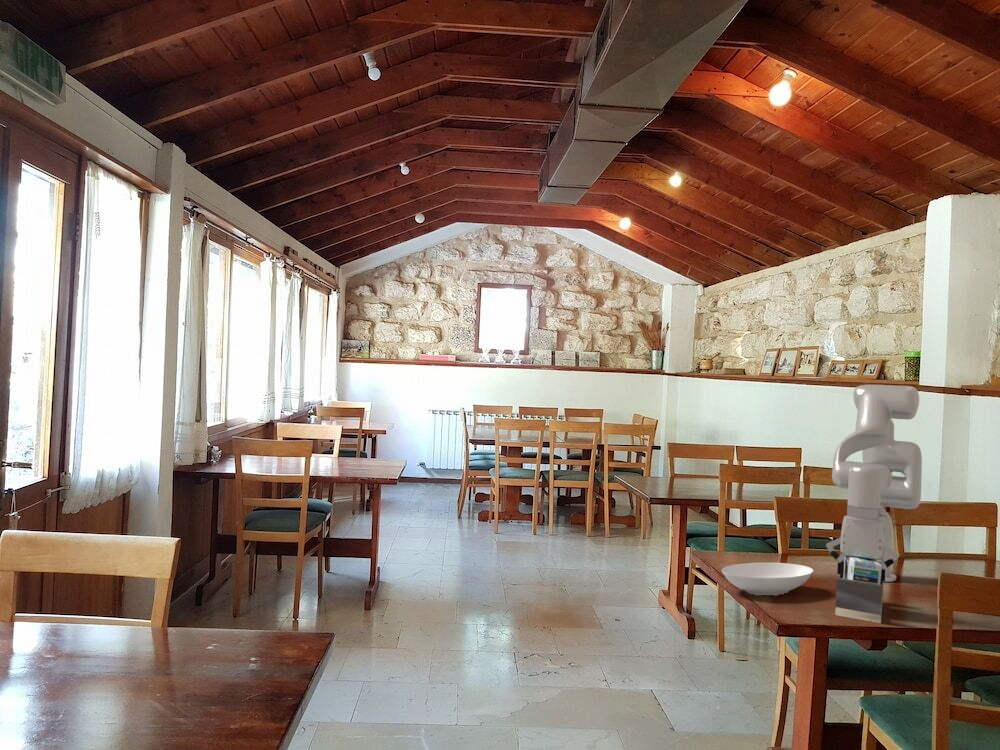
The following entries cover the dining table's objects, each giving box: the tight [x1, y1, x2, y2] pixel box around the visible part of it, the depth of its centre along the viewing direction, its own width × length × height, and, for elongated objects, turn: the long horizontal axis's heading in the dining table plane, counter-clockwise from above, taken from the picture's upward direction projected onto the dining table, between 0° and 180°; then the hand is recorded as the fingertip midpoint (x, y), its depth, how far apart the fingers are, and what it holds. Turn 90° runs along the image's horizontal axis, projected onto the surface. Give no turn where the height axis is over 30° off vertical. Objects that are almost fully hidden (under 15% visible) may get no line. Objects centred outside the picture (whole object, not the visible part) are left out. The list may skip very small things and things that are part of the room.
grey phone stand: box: [834, 577, 884, 624], centre depth 181 cm, size 20×10×9 cm, turn 150°
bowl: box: [721, 562, 814, 596], centre depth 194 cm, size 30×15×6 cm, turn 114°
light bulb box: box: [842, 556, 882, 584], centre depth 182 cm, size 11×7×11 cm, turn 167°
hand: (860, 580), depth 182 cm, fingers open, 8 cm apart
